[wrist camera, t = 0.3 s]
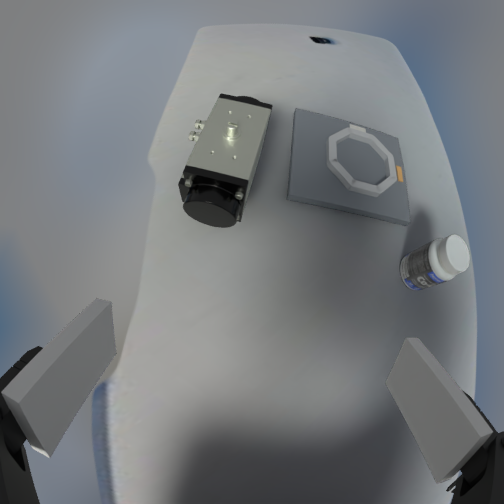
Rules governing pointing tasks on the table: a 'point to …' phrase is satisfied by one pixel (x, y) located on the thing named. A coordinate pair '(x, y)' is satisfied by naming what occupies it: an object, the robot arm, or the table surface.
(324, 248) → the table surface
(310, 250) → the table surface
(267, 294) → the table surface
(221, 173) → the pneumatic valve
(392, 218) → the slate board
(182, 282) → the table surface
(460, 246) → the pill bottle
